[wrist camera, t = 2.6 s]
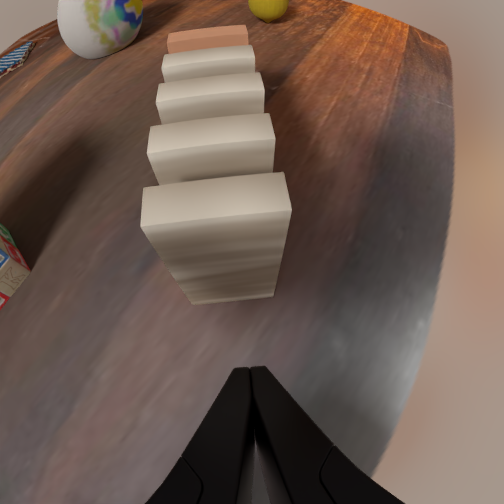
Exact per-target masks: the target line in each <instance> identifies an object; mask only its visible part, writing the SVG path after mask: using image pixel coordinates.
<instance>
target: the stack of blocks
mask: <svg viewBox="0 0 504 504" xmlns="http://www.w3.org/2000/svg"><path fill="white" fill-rule="evenodd" d="M30 273H31V271H30V269H29V267H28V265H27V264H26V262H25V260H24V258H23V257H22V255H21V253H20V251H19V250H18V248H17V246H16V245H15V243H14V241H13V239H12V237H11V235H10V233H9V231H8V230H7V229H6V228H5V227H4V226H3V225H2V224H1V223H0V310H1V308H2V307H3V306H4V305H5V303H6V302H7V301H8V299H9V298H10V297H11V296H12V295H13V293H14V292H15V291H16V290H17V289H18V287H19V286H20V285H21V284H22V282H23V281H24V280H25V279H26V278H27V276H28V275H29V274H30Z"/></svg>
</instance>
